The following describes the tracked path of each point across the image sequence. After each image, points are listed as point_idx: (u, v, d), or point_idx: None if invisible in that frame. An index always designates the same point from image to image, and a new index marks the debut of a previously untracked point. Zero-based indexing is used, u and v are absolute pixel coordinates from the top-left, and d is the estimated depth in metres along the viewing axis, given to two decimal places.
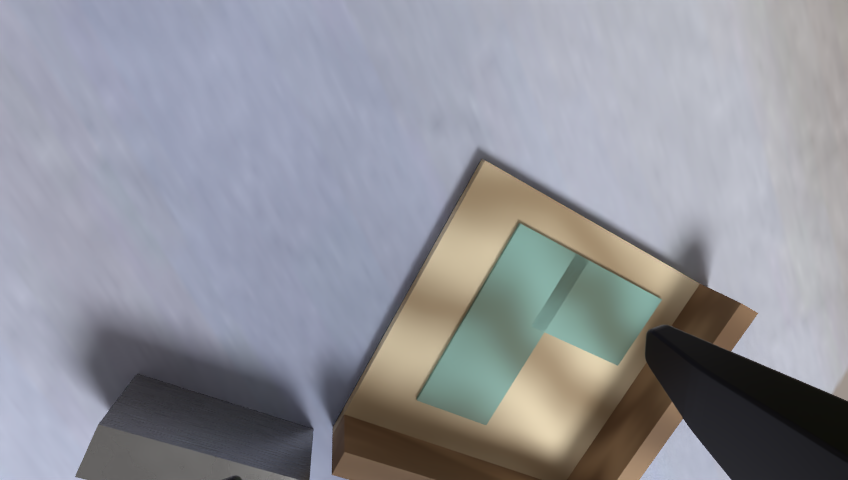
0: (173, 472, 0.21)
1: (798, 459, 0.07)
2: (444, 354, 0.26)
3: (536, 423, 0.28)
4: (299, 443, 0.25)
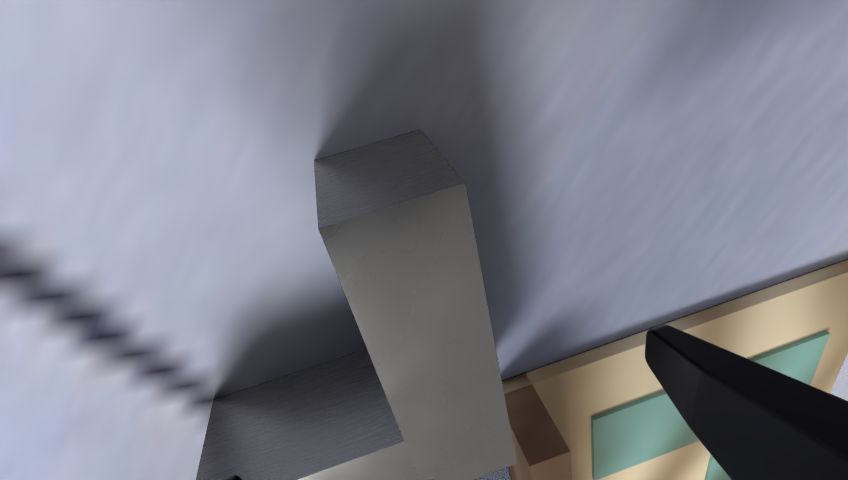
0: (434, 341, 0.11)
1: (798, 459, 0.07)
2: (661, 395, 0.20)
3: None
4: None
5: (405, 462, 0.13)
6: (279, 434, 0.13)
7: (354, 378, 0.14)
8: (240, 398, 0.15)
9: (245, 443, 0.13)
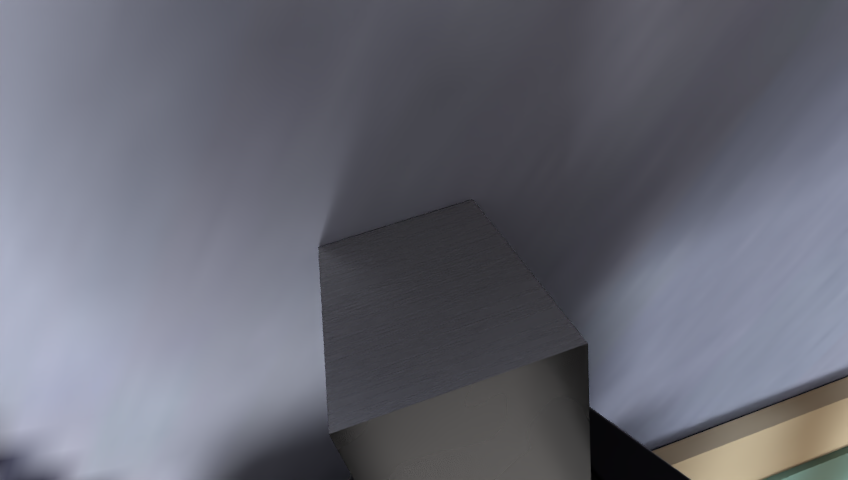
0: None
1: None
2: None
3: None
4: None
5: None
6: None
7: None
8: None
9: None
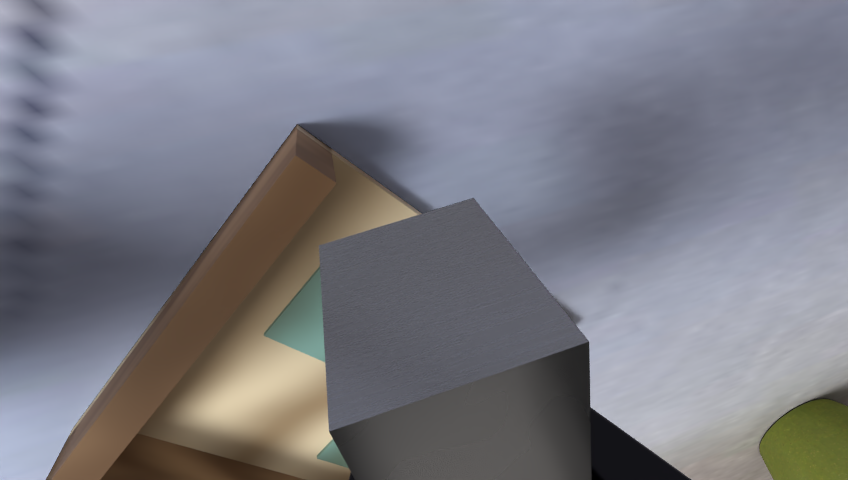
0: None
1: None
2: None
3: (248, 389, 0.21)
4: None
5: None
6: None
7: None
8: None
9: None
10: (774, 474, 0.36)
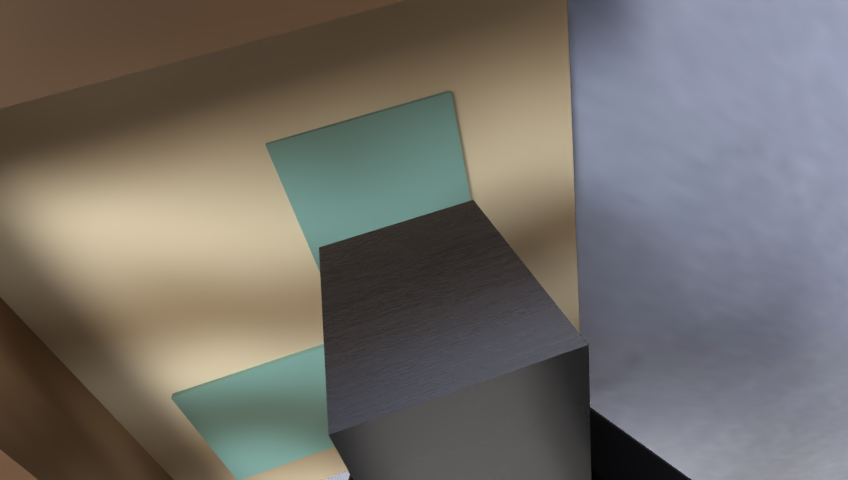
0: None
1: None
2: None
3: (162, 220, 0.12)
4: None
5: None
6: None
7: None
8: None
9: None
10: None
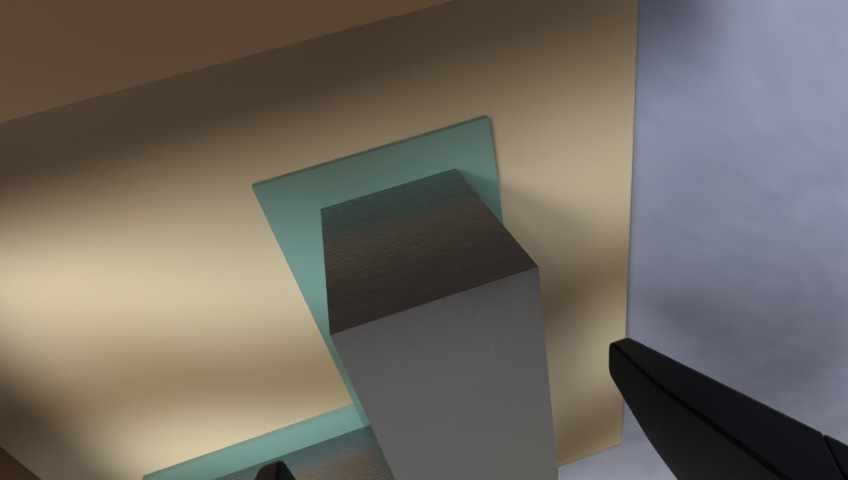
0: (479, 456, 0.08)
1: (747, 479, 0.07)
2: None
3: (121, 280, 0.09)
4: None
5: None
6: None
7: (367, 465, 0.12)
8: None
9: None
10: None
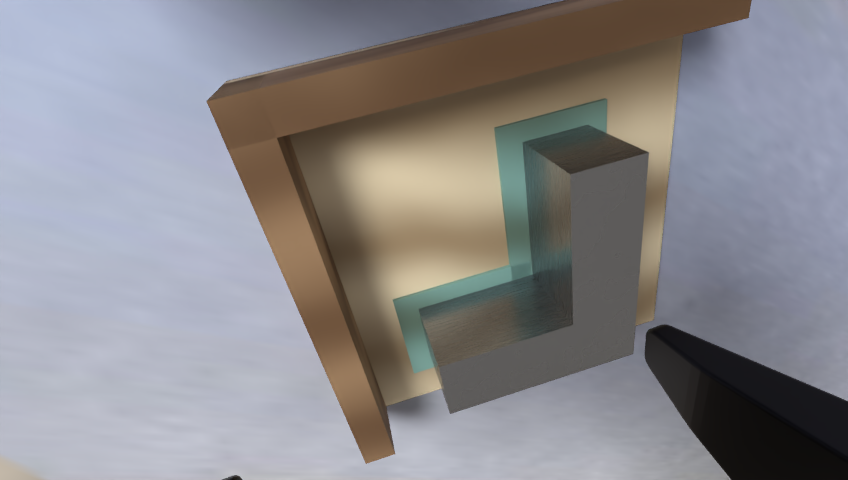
0: (608, 252, 0.17)
1: (798, 459, 0.07)
2: None
3: (423, 174, 0.19)
4: None
5: (568, 342, 0.19)
6: (480, 324, 0.20)
7: (521, 294, 0.21)
8: (439, 307, 0.21)
9: (457, 330, 0.20)
10: None
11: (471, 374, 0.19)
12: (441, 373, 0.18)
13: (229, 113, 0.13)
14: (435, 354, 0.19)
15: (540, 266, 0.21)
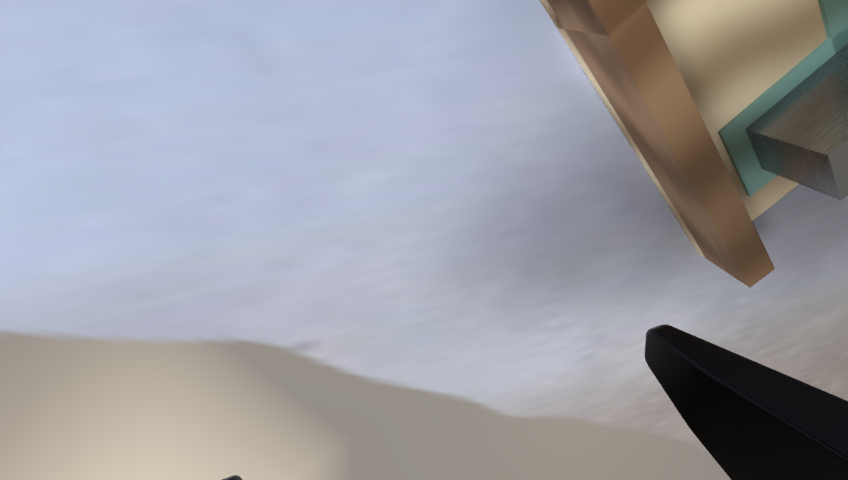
0: None
1: (798, 459, 0.07)
2: None
3: None
4: None
5: None
6: (839, 103, 0.19)
7: None
8: (769, 116, 0.21)
9: (815, 120, 0.19)
10: None
11: None
12: (830, 160, 0.18)
13: None
14: (810, 148, 0.19)
15: None
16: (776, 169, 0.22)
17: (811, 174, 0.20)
